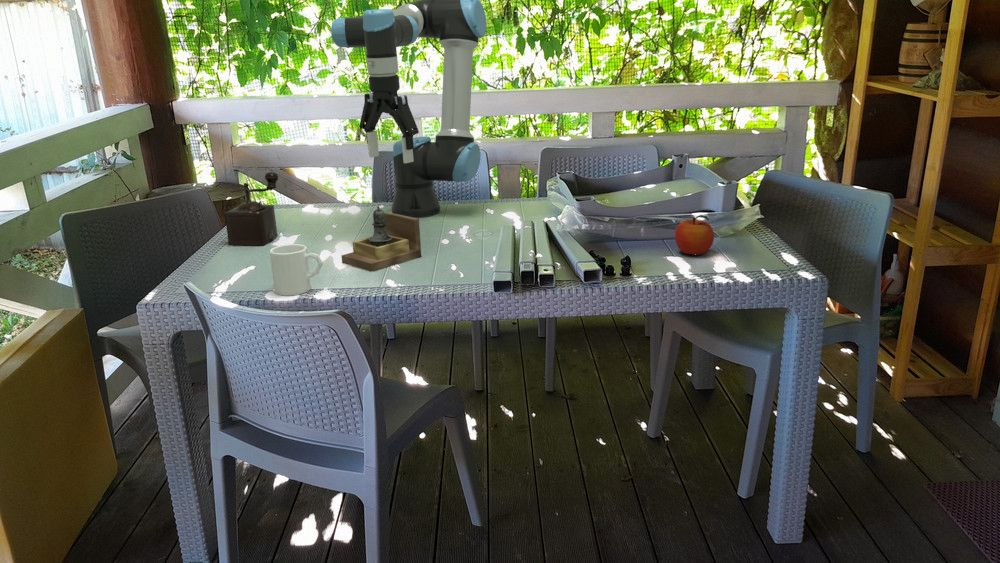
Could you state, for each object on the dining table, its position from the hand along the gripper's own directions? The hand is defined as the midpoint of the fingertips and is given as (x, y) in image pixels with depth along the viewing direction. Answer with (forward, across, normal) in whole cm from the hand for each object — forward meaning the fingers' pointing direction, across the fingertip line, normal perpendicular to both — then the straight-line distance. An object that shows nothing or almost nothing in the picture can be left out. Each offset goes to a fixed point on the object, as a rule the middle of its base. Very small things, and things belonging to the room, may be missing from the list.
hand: (391, 159), depth 209 cm
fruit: (+24, +65, +41) cm, 81 cm away
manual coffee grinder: (+24, -40, -18) cm, 50 cm away
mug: (+23, +9, -37) cm, 45 cm away
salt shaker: (+22, +5, -10) cm, 24 cm away
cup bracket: (+23, +5, -10) cm, 26 cm away
